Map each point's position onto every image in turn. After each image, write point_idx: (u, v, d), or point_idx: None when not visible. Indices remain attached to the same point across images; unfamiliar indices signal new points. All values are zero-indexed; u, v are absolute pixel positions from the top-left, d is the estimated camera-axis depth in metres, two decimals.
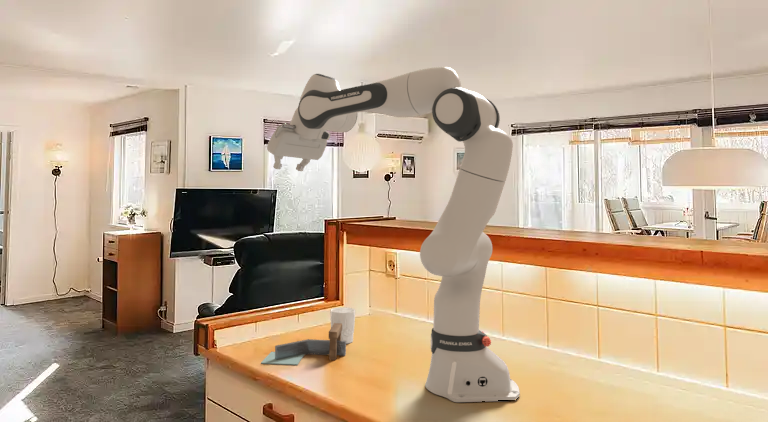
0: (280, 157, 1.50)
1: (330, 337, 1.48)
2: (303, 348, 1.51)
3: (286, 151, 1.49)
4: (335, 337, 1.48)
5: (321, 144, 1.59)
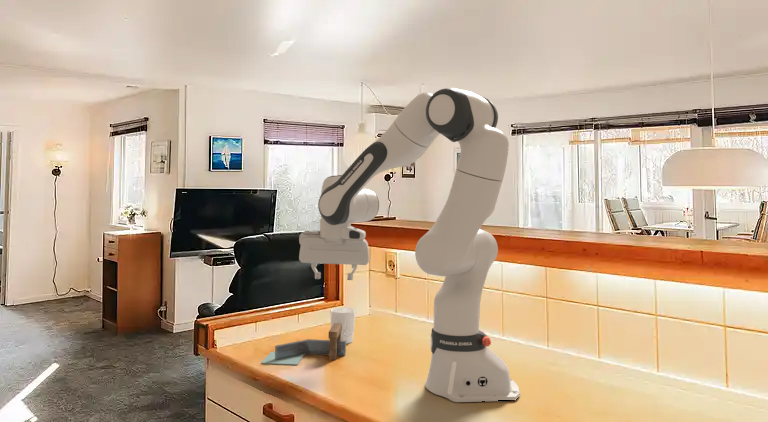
0: (312, 265, 1.51)
1: (330, 337, 1.48)
2: (303, 348, 1.51)
3: (314, 257, 1.50)
4: (335, 337, 1.48)
5: (359, 246, 1.50)
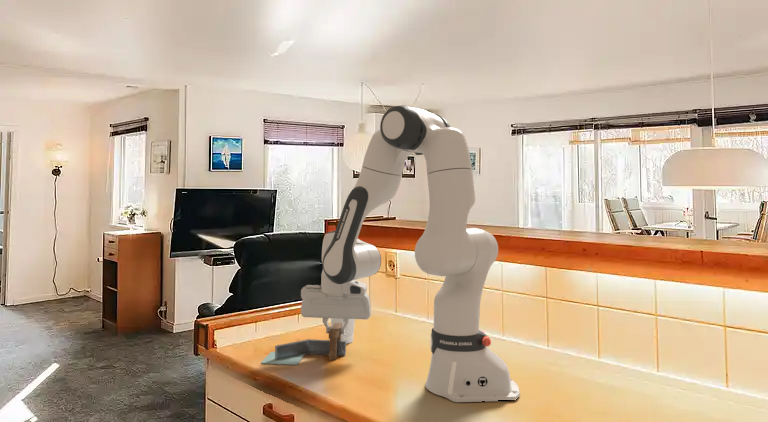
0: (324, 319, 1.52)
1: (330, 337, 1.48)
2: (303, 348, 1.51)
3: (315, 311, 1.51)
4: (335, 337, 1.48)
5: (361, 300, 1.50)
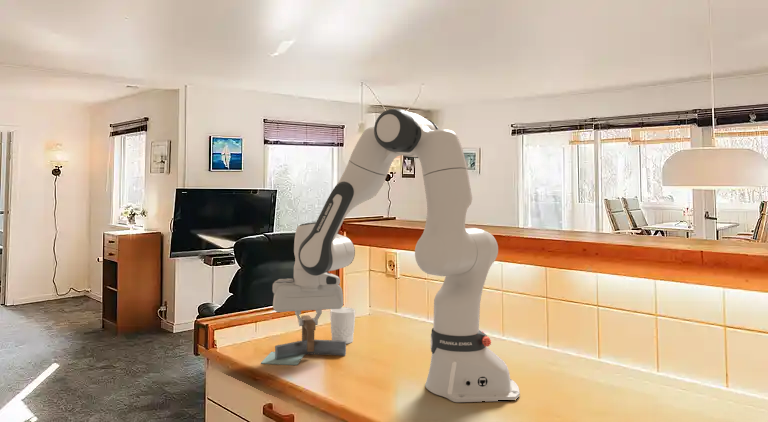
0: (297, 312, 1.51)
1: (308, 329, 1.48)
2: (303, 348, 1.51)
3: (290, 305, 1.49)
4: (313, 328, 1.48)
5: (335, 291, 1.53)
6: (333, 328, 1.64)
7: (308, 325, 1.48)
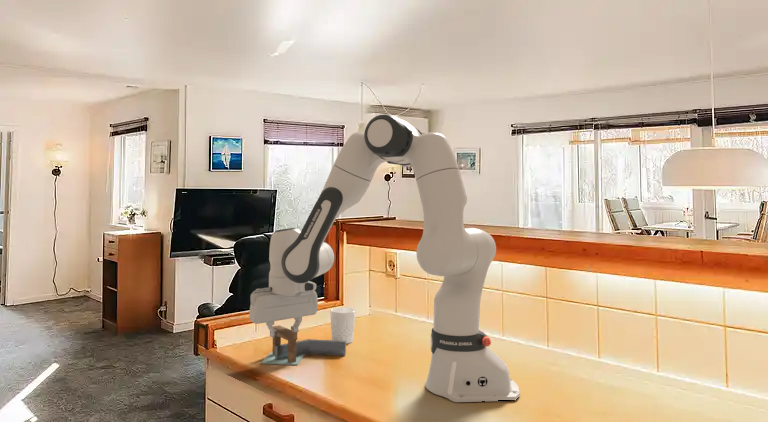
0: (271, 323, 1.44)
1: (291, 339, 1.44)
2: (303, 348, 1.51)
3: (269, 315, 1.42)
4: (295, 338, 1.45)
5: (310, 297, 1.51)
6: (333, 328, 1.64)
7: (290, 335, 1.43)
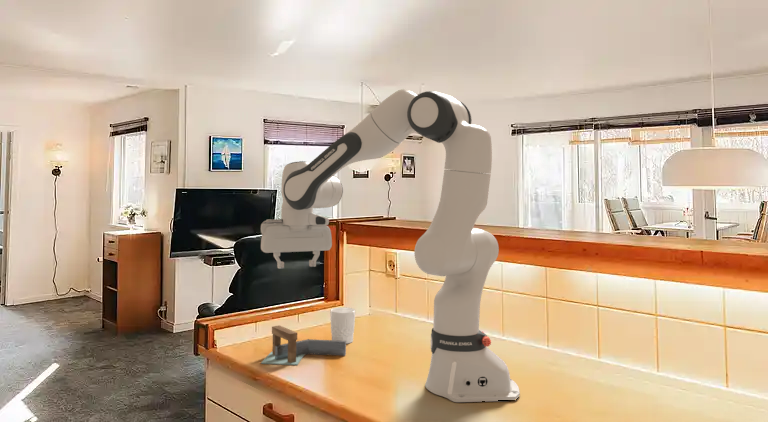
0: (277, 254, 1.46)
1: (291, 339, 1.44)
2: (303, 348, 1.51)
3: (279, 246, 1.46)
4: (295, 338, 1.45)
5: (323, 232, 1.51)
6: (333, 328, 1.64)
7: (290, 335, 1.43)
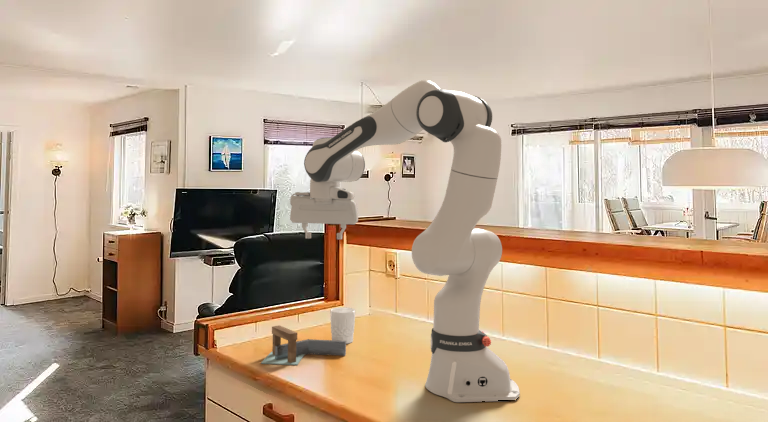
0: (303, 225, 1.57)
1: (291, 339, 1.44)
2: (303, 348, 1.51)
3: (304, 217, 1.56)
4: (295, 338, 1.45)
5: (348, 206, 1.55)
6: (333, 328, 1.64)
7: (290, 335, 1.43)
